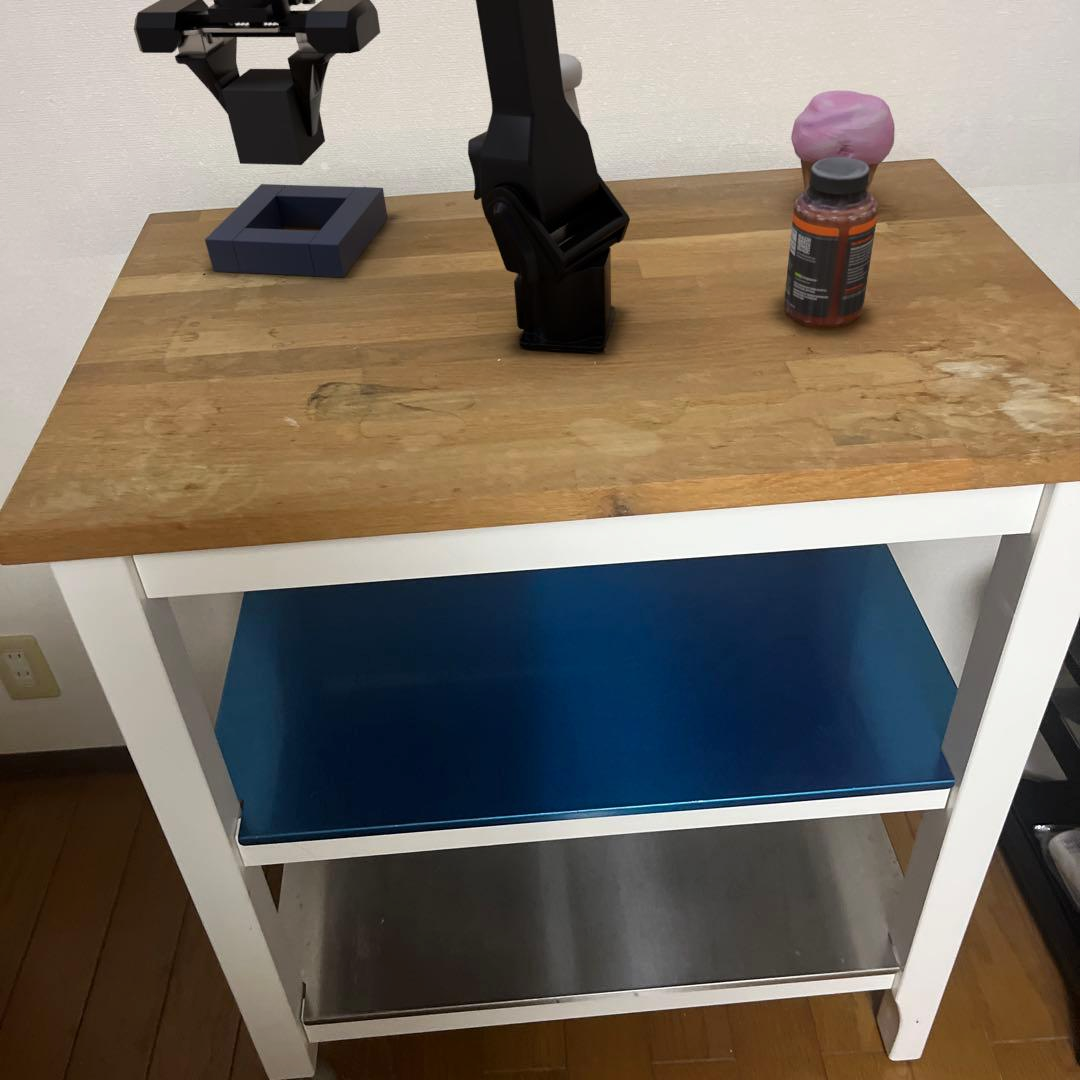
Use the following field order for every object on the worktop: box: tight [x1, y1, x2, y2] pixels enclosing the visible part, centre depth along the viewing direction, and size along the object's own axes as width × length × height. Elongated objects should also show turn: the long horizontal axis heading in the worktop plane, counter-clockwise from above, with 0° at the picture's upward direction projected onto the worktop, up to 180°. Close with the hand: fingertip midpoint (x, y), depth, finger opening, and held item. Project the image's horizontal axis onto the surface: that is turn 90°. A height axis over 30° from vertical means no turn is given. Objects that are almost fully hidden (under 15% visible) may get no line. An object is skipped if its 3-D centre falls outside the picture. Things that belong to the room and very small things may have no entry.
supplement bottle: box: [783, 157, 879, 328], centre depth 76 cm, size 6×6×11 cm
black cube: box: [222, 68, 326, 166], centre depth 86 cm, size 6×6×6 cm
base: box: [204, 183, 389, 278], centre depth 93 cm, size 12×12×3 cm
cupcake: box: [790, 90, 896, 192], centre depth 91 cm, size 9×9×10 cm
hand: (280, 134), depth 87 cm, fingers closed on black cube, 5 cm apart
